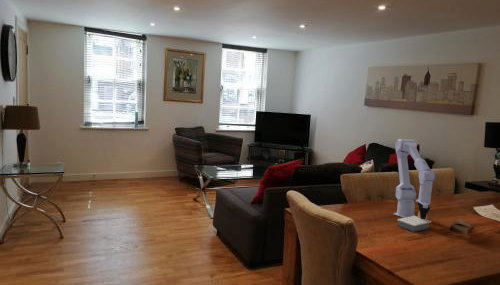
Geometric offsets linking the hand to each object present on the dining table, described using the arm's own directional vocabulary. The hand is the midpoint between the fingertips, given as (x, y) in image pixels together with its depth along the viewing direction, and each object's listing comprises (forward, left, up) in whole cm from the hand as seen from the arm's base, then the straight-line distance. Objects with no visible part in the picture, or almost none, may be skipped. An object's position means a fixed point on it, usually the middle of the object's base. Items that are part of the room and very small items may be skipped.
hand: (422, 217), depth 191 cm
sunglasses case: (-16, +12, -5) cm, 21 cm away
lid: (+7, 0, -2) cm, 7 cm away
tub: (+7, 0, -4) cm, 8 cm away
